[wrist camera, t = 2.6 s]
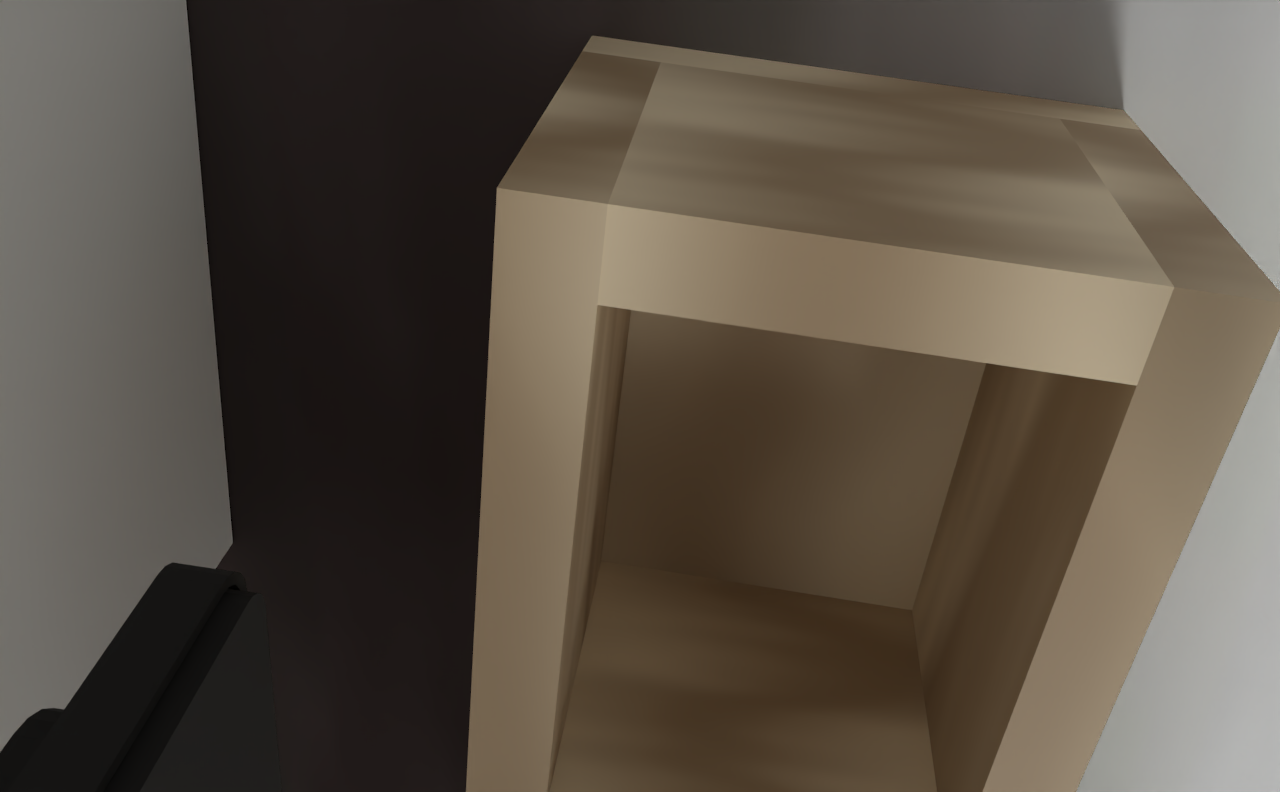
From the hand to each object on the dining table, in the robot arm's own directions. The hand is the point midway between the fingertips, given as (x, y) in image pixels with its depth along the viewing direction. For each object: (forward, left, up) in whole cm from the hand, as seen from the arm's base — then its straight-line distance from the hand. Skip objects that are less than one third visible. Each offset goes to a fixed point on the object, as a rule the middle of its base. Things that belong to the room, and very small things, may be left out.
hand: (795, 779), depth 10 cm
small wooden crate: (0, +1, -9) cm, 9 cm away
